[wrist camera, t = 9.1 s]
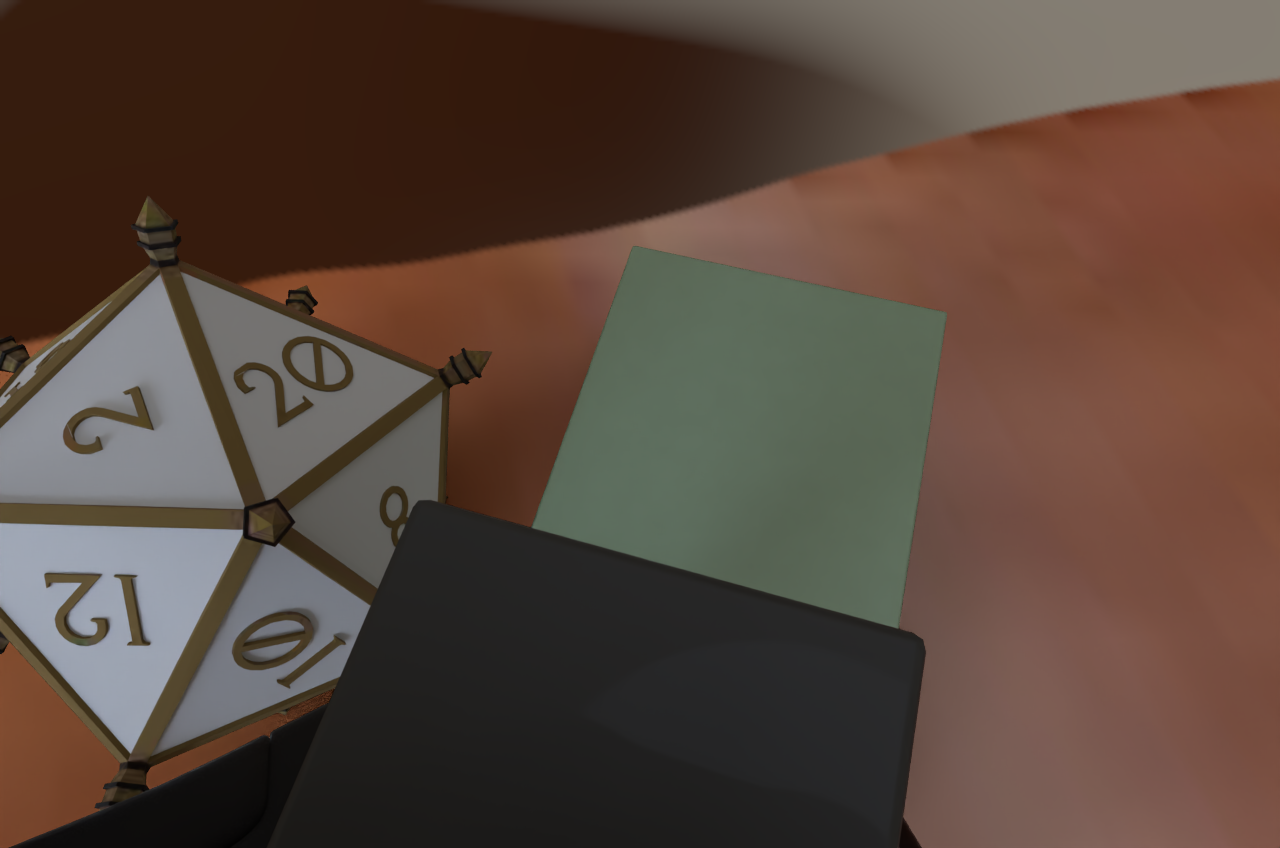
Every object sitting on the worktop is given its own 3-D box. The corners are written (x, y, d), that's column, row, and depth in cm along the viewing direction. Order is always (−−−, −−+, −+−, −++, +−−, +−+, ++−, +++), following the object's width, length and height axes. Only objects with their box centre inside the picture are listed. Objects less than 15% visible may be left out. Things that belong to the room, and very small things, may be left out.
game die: (347, 528, 21) (273, 126, 16) (599, 679, 17) (600, 189, 12) (-73, 756, 14) (-401, 202, 10) (159, 1099, 10) (-229, 401, 5)
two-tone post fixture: (810, 936, 14) (1576, 1724, 2) (470, 820, 15) (-304, 925, 3) (904, 387, 18) (1320, -343, 7) (638, 326, 19) (586, -406, 8)
